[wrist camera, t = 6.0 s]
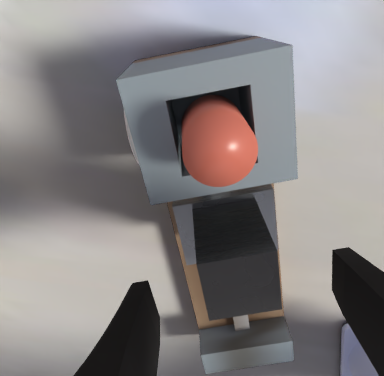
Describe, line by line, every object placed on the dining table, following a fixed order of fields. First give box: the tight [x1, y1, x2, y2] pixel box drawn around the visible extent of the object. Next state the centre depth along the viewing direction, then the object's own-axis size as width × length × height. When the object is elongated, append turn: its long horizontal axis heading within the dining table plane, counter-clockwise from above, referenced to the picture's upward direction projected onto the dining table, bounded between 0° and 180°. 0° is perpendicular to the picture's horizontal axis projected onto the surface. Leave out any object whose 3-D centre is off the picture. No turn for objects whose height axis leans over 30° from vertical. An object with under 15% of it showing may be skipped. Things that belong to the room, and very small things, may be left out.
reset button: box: [181, 95, 258, 187], centre depth 12 cm, size 2×2×3 cm
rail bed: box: [133, 36, 294, 374], centre depth 19 cm, size 6×20×3 cm, turn 10°
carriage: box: [172, 184, 282, 321], centre depth 15 cm, size 5×4×6 cm
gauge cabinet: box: [116, 38, 298, 205], centre depth 14 cm, size 6×5×4 cm
